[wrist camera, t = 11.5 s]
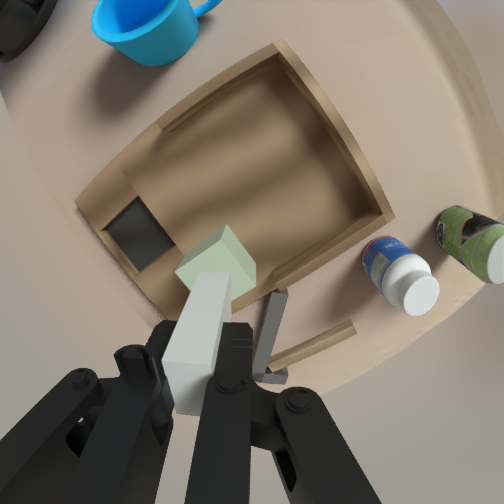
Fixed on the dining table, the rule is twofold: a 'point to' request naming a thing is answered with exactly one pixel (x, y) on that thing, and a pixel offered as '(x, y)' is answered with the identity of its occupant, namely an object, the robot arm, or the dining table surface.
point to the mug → (149, 27)
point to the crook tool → (269, 339)
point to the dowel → (312, 346)
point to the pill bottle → (400, 275)
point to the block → (220, 261)
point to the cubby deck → (238, 181)
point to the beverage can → (473, 242)
